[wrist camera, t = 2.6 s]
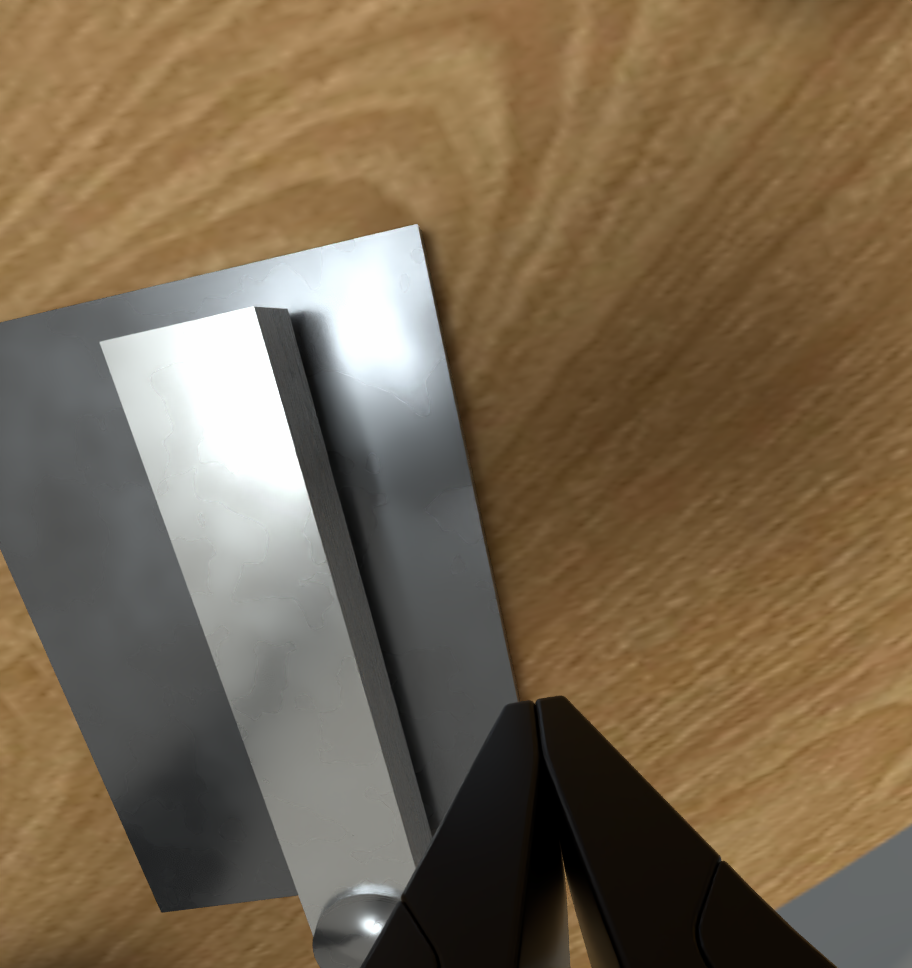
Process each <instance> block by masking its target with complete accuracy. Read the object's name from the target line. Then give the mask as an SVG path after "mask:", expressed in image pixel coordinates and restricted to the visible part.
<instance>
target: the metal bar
mask: <svg viewBox="0 0 912 968" xmlns="http://www.w3.org/2000/svg"><path fill="white" fill-rule="evenodd" d="M100 345H101V348H102V351H103V354H104V356H105V359H106V362H107V365H108V367H109V370H110V373H111V376H112V379H113V381H114V384H115V387H116V390H117V392H118V395H119V398H120V401H121V404H122V406H123V409H124V412H125V415H126V417H127V420H128V423H129V426H130V429H131V431H132V434H133V437H134V440H135V442H136V445H137V448H138V451H139V454H140V456H141V459H142V462H143V465H144V467H145V470H146V473H147V476H148V479H149V481H150V484H151V487H152V490H153V492H154V495H155V498H156V501H157V504H158V506H159V509H160V512H161V515H162V517H163V520H164V523H165V526H166V529H167V531H168V534H169V537H170V540H171V542H172V545H173V548H174V551H175V554H176V556H177V559H178V562H179V565H180V567H181V570H182V573H183V576H184V579H185V581H186V584H187V587H188V590H189V592H190V595H191V598H192V601H193V604H194V606H195V609H196V612H197V615H198V617H199V620H200V623H201V626H202V629H203V631H204V634H205V637H206V640H207V642H208V645H209V648H210V651H211V654H212V656H213V659H214V662H215V665H216V667H217V670H218V673H219V676H220V679H221V681H222V684H223V687H224V690H225V692H226V695H227V698H228V701H229V704H230V706H231V709H232V712H233V715H234V717H235V720H236V723H237V726H238V729H239V731H240V734H241V737H242V740H243V742H244V745H245V748H246V751H247V754H248V756H249V759H250V762H251V765H252V767H253V770H254V773H255V776H256V779H257V781H258V784H259V787H260V790H261V792H262V795H263V798H264V801H265V804H266V806H267V809H268V812H269V815H270V817H271V820H272V823H273V826H274V829H275V831H276V834H277V837H278V840H279V842H280V845H281V848H282V851H283V854H284V856H285V859H286V862H287V865H288V867H289V870H290V873H291V876H292V879H293V881H294V884H295V887H296V890H297V892H298V895H299V898H300V901H301V904H302V906H303V909H304V912H305V915H306V917H307V920H308V923H309V926H310V929H311V931H312V934H313V952H314V956H315V958H316V961H317V963H318V964H319V966H320V968H360V967H361V965H362V963H363V962H364V960H365V958H366V956H367V955H368V953H369V951H370V950H371V948H372V946H373V944H374V943H375V941H376V939H377V938H378V936H379V934H380V932H381V931H382V929H383V927H384V925H385V923H386V921H387V920H388V918H389V916H390V914H391V912H392V910H393V908H394V907H395V905H396V903H397V902H398V901H401V895H402V893H403V891H404V889H405V887H406V885H407V884H408V882H409V880H410V878H411V876H412V874H413V873H414V871H415V869H416V867H417V865H418V863H419V862H420V860H421V858H422V856H423V854H424V852H425V851H426V849H427V847H428V845H429V843H430V841H431V839H432V835H431V831H430V827H429V824H428V820H427V817H426V813H425V809H424V806H423V802H422V798H421V795H420V791H419V787H418V784H417V780H416V776H415V773H414V769H413V765H412V762H411V758H410V754H409V751H408V747H407V744H406V740H405V736H404V733H403V729H402V725H401V722H400V718H399V714H398V711H397V707H396V703H395V700H394V696H393V692H392V689H391V685H390V681H389V678H388V674H387V670H386V667H385V663H384V660H383V656H382V652H381V649H380V645H379V641H378V638H377V634H376V630H375V627H374V623H373V619H372V616H371V612H370V608H369V605H368V601H367V597H366V594H365V590H364V587H363V583H362V579H361V576H360V572H359V568H358V565H357V561H356V557H355V554H354V550H353V546H352V543H351V539H350V535H349V532H348V528H347V524H346V521H345V517H344V513H343V510H342V506H341V503H340V499H339V495H338V492H337V488H336V484H335V481H334V477H333V473H332V470H331V466H330V462H329V459H328V455H327V451H326V448H325V444H324V440H323V437H322V433H321V430H320V426H319V422H318V419H317V415H316V411H315V408H314V404H313V400H312V397H311V393H310V389H309V386H308V382H307V378H306V375H305V371H304V367H303V364H302V360H301V356H300V353H299V349H298V346H297V342H296V338H295V335H294V331H293V327H292V324H291V320H290V316H289V313H288V309H282V308H268V307H255V306H253V307H249V308H245V309H240V310H236V311H232V312H227V313H223V314H219V315H214V316H210V317H205V318H201V319H197V320H192V321H188V322H184V323H179V324H175V325H171V326H166V327H162V328H157V329H153V330H149V331H144V332H140V333H136V334H131V335H127V336H122V337H118V338H114V339H109V340H105V341H101V342H100Z"/></svg>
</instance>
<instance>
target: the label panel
mask: <svg viewBox="0 0 912 968" xmlns="http://www.w3.org/2000/svg"><path fill="white" fill-rule="evenodd" d="M253 306H255V307H268V308H282V309H288V313H289V316H290V320H291V324H292V327H293V331H294V335H295V338H296V342H297V346H298V349H299V353H300V356H301V360H302V364H303V367H304V371H305V375H306V378H307V382H308V386H309V389H310V393H311V397H312V400H313V404H314V408H315V411H316V415H317V419H318V422H319V426H320V430H321V433H322V437H323V440H324V444H325V448H326V451H327V455H328V459H329V462H330V466H331V470H332V473H333V477H334V481H335V484H336V488H337V492H338V495H339V499H340V503H341V506H342V510H343V513H344V517H345V521H346V524H347V528H348V532H349V535H350V539H351V543H352V546H353V550H354V554H355V557H356V561H357V565H358V568H359V572H360V576H361V579H362V583H363V587H364V590H365V594H366V597H367V601H368V605H369V608H370V612H371V616H372V619H373V623H374V627H375V630H376V634H377V638H378V641H379V645H380V649H381V652H382V656H383V660H384V663H385V667H386V670H387V674H388V678H389V681H390V685H391V689H392V692H393V696H394V700H395V703H396V707H397V711H398V714H399V718H400V722H401V725H402V729H403V733H404V736H405V740H406V744H407V747H408V751H409V754H410V758H411V762H412V765H413V769H414V773H415V776H416V780H417V784H418V787H419V791H420V795H421V798H422V802H423V806H424V809H425V813H426V817H427V820H428V824H429V827H430V831H431V835H432V838H433V836H434V834H435V832H436V830H437V828H438V827H439V825H440V823H441V821H442V819H443V817H444V816H445V814H446V812H447V810H448V808H449V806H450V805H451V803H452V801H453V799H454V797H455V795H456V794H457V792H458V790H459V788H460V786H461V784H462V783H463V781H464V779H465V777H466V775H467V773H468V772H469V770H470V768H471V766H472V764H473V762H474V761H475V759H476V757H477V755H478V753H479V751H480V750H481V748H482V746H483V744H484V742H485V740H486V739H487V737H488V735H489V733H490V731H491V729H492V728H493V726H494V724H495V722H496V720H497V718H498V717H499V715H500V713H501V711H502V709H503V707H504V706H505V705H506V704H509V703H515V702H520V699H519V694H518V689H517V684H516V680H515V675H514V670H513V665H512V660H511V656H510V651H509V646H508V641H507V637H506V632H505V627H504V622H503V617H502V613H501V608H500V603H499V598H498V593H497V589H496V584H495V579H494V574H493V570H492V565H491V560H490V555H489V550H488V546H487V541H486V536H485V531H484V527H483V522H482V517H481V512H480V507H479V503H478V498H477V493H476V488H475V483H474V479H473V474H472V469H471V464H470V460H469V455H468V450H467V445H466V440H465V436H464V431H463V426H462V421H461V417H460V412H459V407H458V402H457V397H456V393H455V388H454V383H453V378H452V374H451V369H450V364H449V359H448V354H447V350H446V345H445V340H444V335H443V330H442V326H441V321H440V316H439V311H438V307H437V302H436V297H435V292H434V287H433V283H432V278H431V273H430V268H429V264H428V259H427V254H426V249H425V244H424V240H423V235H422V230H421V229H420V227H419V226H418V224H415V225H411V226H407V227H402V228H398V229H394V230H390V231H385V232H381V233H377V234H373V235H369V236H364V237H360V238H356V239H352V240H347V241H343V242H339V243H335V244H330V245H326V246H322V247H318V248H314V249H309V250H305V251H301V252H297V253H292V254H288V255H284V256H280V257H276V258H271V259H267V260H263V261H259V262H254V263H250V264H246V265H242V266H237V267H233V268H229V269H225V270H221V271H216V272H212V273H208V274H204V275H199V276H195V277H191V278H187V279H183V280H178V281H174V282H170V283H166V284H161V285H157V286H153V287H149V288H145V289H140V290H136V291H132V292H128V293H123V294H119V295H115V296H111V297H106V298H102V299H98V300H94V301H90V302H85V303H81V304H77V305H73V306H68V307H64V308H60V309H56V310H52V311H47V312H43V313H39V314H35V315H30V316H26V317H22V318H18V319H13V320H9V321H5V322H1V323H0V549H1V552H2V554H3V556H4V558H5V561H6V563H7V565H8V568H9V570H10V572H11V574H12V577H13V579H14V581H15V583H16V586H17V588H18V590H19V592H20V595H21V597H22V599H23V601H24V604H25V606H26V608H27V610H28V613H29V615H30V617H31V619H32V622H33V624H34V626H35V628H36V631H37V633H38V635H39V637H40V640H41V642H42V644H43V646H44V649H45V651H46V653H47V655H48V658H49V660H50V662H51V665H52V667H53V669H54V671H55V674H56V676H57V678H58V680H59V683H60V685H61V687H62V689H63V692H64V694H65V696H66V698H67V701H68V703H69V705H70V707H71V710H72V712H73V714H74V716H75V719H76V721H77V723H78V725H79V728H80V730H81V732H82V734H83V737H84V739H85V741H86V743H87V746H88V748H89V750H90V752H91V755H92V757H93V759H94V762H95V764H96V766H97V768H98V771H99V773H100V775H101V777H102V780H103V782H104V784H105V786H106V789H107V791H108V793H109V795H110V798H111V800H112V802H113V804H114V807H115V809H116V811H117V813H118V816H119V818H120V820H121V822H122V825H123V827H124V829H125V831H126V834H127V836H128V838H129V840H130V843H131V845H132V847H133V849H134V852H135V854H136V856H137V859H138V861H139V863H140V865H141V868H142V870H143V872H144V874H145V877H146V879H147V881H148V883H149V886H150V888H151V890H152V892H153V895H154V897H155V899H156V901H157V904H158V906H159V908H160V910H161V913H162V912H170V911H178V910H186V909H194V908H202V907H210V906H218V905H225V904H233V903H241V902H249V901H257V900H265V899H273V898H281V897H288V896H296V895H298V892H297V890H296V887H295V884H294V881H293V879H292V876H291V873H290V870H289V867H288V865H287V862H286V859H285V856H284V854H283V851H282V848H281V845H280V842H279V840H278V837H277V834H276V831H275V829H274V826H273V823H272V820H271V817H270V815H269V812H268V809H267V806H266V804H265V801H264V798H263V795H262V792H261V790H260V787H259V784H258V781H257V779H256V776H255V773H254V770H253V767H252V765H251V762H250V759H249V756H248V754H247V751H246V748H245V745H244V742H243V740H242V737H241V734H240V731H239V729H238V726H237V723H236V720H235V717H234V715H233V712H232V709H231V706H230V704H229V701H228V698H227V695H226V692H225V690H224V687H223V684H222V681H221V679H220V676H219V673H218V670H217V667H216V665H215V662H214V659H213V656H212V654H211V651H210V648H209V645H208V642H207V640H206V637H205V634H204V631H203V629H202V626H201V623H200V620H199V617H198V615H197V612H196V609H195V606H194V604H193V601H192V598H191V595H190V592H189V590H188V587H187V584H186V581H185V579H184V576H183V573H182V570H181V567H180V565H179V562H178V559H177V556H176V554H175V551H174V548H173V545H172V542H171V540H170V537H169V534H168V531H167V529H166V526H165V523H164V520H163V517H162V515H161V512H160V509H159V506H158V504H157V501H156V498H155V495H154V492H153V490H152V487H151V484H150V481H149V479H148V476H147V473H146V470H145V467H144V465H143V462H142V459H141V456H140V454H139V451H138V448H137V445H136V442H135V440H134V437H133V434H132V431H131V429H130V426H129V423H128V420H127V417H126V415H125V412H124V409H123V406H122V404H121V401H120V398H119V395H118V392H117V390H116V387H115V384H114V381H113V379H112V376H111V373H110V370H109V367H108V365H107V362H106V359H105V356H104V354H103V351H102V348H101V345H100V342H101V341H105V340H109V339H114V338H118V337H122V336H127V335H131V334H136V333H140V332H144V331H149V330H153V329H157V328H162V327H166V326H171V325H175V324H179V323H184V322H188V321H192V320H197V319H201V318H205V317H210V316H214V315H219V314H223V313H227V312H232V311H236V310H240V309H245V308H249V307H253Z"/></svg>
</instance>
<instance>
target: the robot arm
mask: <svg viewBox="0 0 912 968" xmlns="http://www.w3.org/2000/svg"><path fill="white" fill-rule="evenodd" d="M561 852H562V853H561ZM562 857H563V859H562ZM563 862H564V866H563ZM564 867H565V872H566V877H567V881H568V885H569V889H570V893H571V897H572V900H573V904H574V907H575V911H576V914H577V918H578V921H579V925H580V928H581V932H582V935H583V939H584V943H585V946H586V950H587V953H588V957H589V960H590V964H591V967H592V968H837V967H836V966H835V965H834V964H833V963H832V962H830V961H829V960H828V959H827V958H826V957H825V956H824V955H823V954H821V953H820V952H819V951H818V950H817V949H816V948H815V947H813V946H812V945H811V944H810V943H809V942H808V941H807V940H806V939H804V938H803V937H802V936H801V935H800V934H799V933H797V932H796V931H795V930H794V929H793V928H792V927H791V926H790V925H789V924H788V923H787V922H786V921H785V920H784V919H783V918H782V917H781V916H780V915H779V914H778V913H777V912H776V911H775V910H774V909H773V908H772V907H771V906H770V905H768V904H767V903H766V902H765V901H764V900H763V899H762V898H761V897H760V896H759V895H758V894H757V893H756V892H755V891H754V890H753V889H752V888H751V887H750V886H749V885H748V884H747V883H746V882H745V881H744V880H743V879H742V878H741V877H740V876H739V875H738V873H737V872H736V871H735V870H734V869H733V868H732V867H731V866H730V865H729V864H728V863H727V862H725V861H721V857H720V855H719V854H718V853H717V852H716V851H715V850H714V849H713V848H712V847H711V846H710V845H709V844H708V843H707V842H706V841H705V840H704V839H703V838H702V837H701V836H700V835H699V834H698V833H697V832H696V831H695V830H694V829H693V828H692V827H691V826H690V825H689V824H688V823H687V821H686V820H685V819H684V818H683V817H682V816H681V815H680V814H679V813H678V812H677V811H676V810H675V809H674V808H673V807H672V806H671V805H670V804H669V803H668V802H667V801H666V800H665V799H664V798H663V797H662V796H661V795H660V794H659V793H658V792H657V791H656V790H655V789H654V788H653V787H652V786H651V785H650V783H649V782H648V781H647V780H646V779H645V778H644V777H643V776H642V775H641V774H640V773H639V772H638V771H637V770H636V769H635V768H634V767H633V766H632V765H631V764H630V763H629V762H628V761H627V760H626V759H625V758H624V757H623V756H622V755H621V754H620V753H619V752H618V751H617V750H616V749H615V748H614V747H613V745H612V744H611V743H610V742H609V741H608V740H607V739H606V738H605V737H604V736H603V735H602V734H601V733H600V732H599V731H598V730H597V729H596V728H595V727H594V726H593V725H592V724H591V723H590V722H589V721H588V720H587V719H586V718H585V717H584V716H583V715H582V714H581V713H580V712H579V711H578V710H577V709H576V708H575V706H574V705H573V704H572V703H571V702H570V701H569V700H568V699H567V698H566V697H564V696H554V697H547V698H541V699H538V700H537V701H536V703H535V704H534V702H533V701H531V700H528V701H522V702H515V703H509V704H506V705H505V706H504V707H503V709H502V711H501V713H500V715H499V717H498V718H497V720H496V722H495V724H494V726H493V728H492V729H491V731H490V733H489V735H488V737H487V739H486V740H485V742H484V744H483V746H482V748H481V750H480V751H479V753H478V755H477V757H476V759H475V761H474V762H473V764H472V766H471V768H470V770H469V772H468V773H467V775H466V777H465V779H464V781H463V783H462V784H461V786H460V788H459V790H458V792H457V794H456V795H455V797H454V799H453V801H452V803H451V805H450V806H449V808H448V810H447V812H446V814H445V816H444V817H443V819H442V821H441V823H440V825H439V827H438V828H437V830H436V832H435V834H434V836H433V838H432V839H431V841H430V843H429V845H428V847H427V849H426V851H425V852H424V854H423V856H422V858H421V860H420V862H419V863H418V865H417V867H416V869H415V871H414V873H413V874H412V876H411V878H410V880H409V882H408V884H407V885H406V887H405V889H404V891H403V893H402V895H401V901H398V902H397V903H396V905H395V907H394V908H393V910H392V912H391V914H390V916H389V918H388V920H387V921H386V923H385V925H384V927H383V929H382V931H381V932H380V934H379V936H378V938H377V939H376V941H375V943H374V944H373V946H372V948H371V950H370V951H369V953H368V955H367V956H366V958H365V960H364V962H363V963H362V965H361V967H360V968H570V953H569V934H568V914H567V896H566V883H565V874H564Z"/></svg>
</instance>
